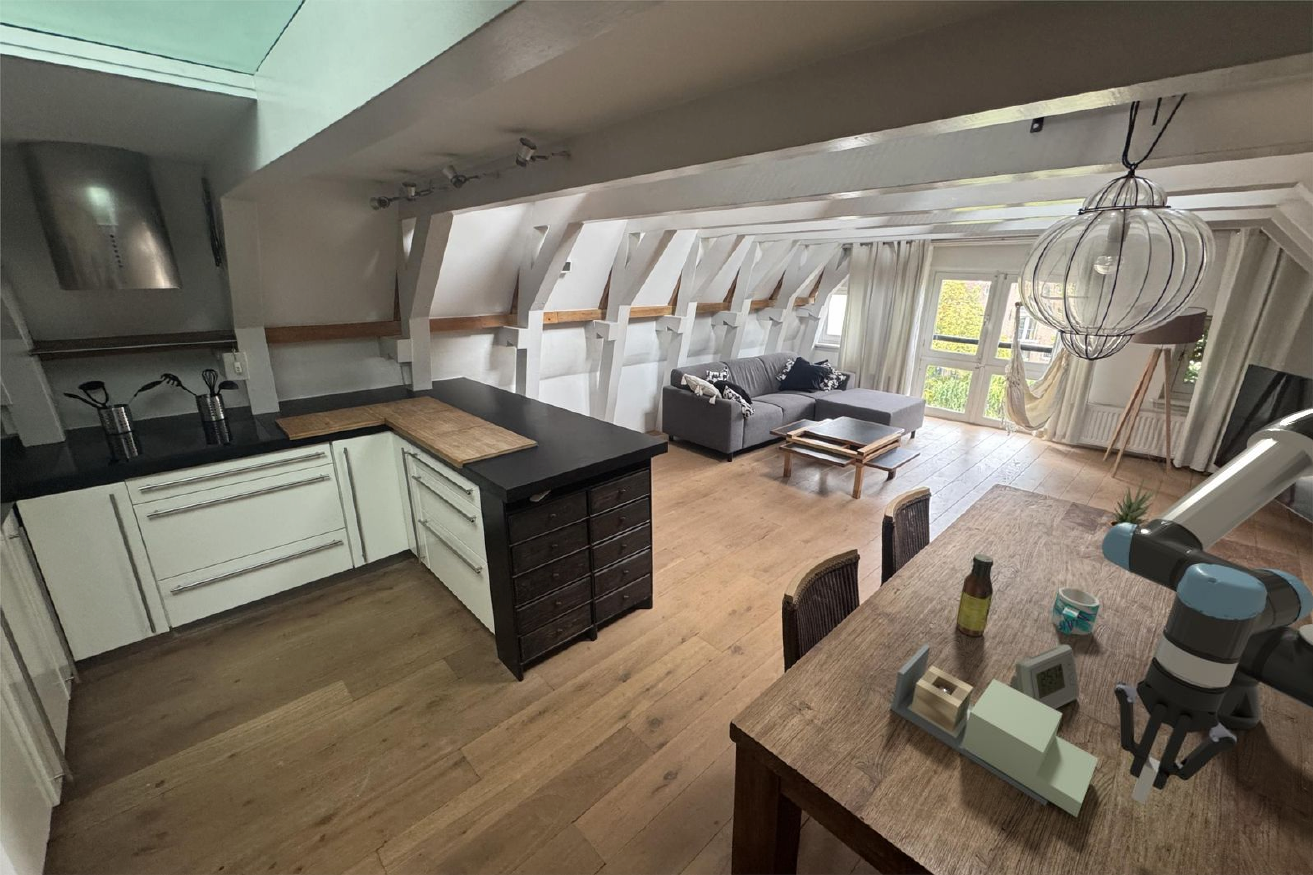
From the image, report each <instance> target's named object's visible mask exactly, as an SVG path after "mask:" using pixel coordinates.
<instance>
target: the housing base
mask: <svg viewBox="0 0 1313 875" xmlns="http://www.w3.org/2000/svg"><path fill="white" fill-rule="evenodd" d="M930 649H931V645H928V644H927V643H925V644H923V645H922V647H921V648H919V650H917V651H916V652H915V654H913V656H912V657H911V658H910V659H909V660H908V661H907V662H906V663H905V664H904V665H903V666H902V667H901V668H900V669H899V670H898V671H897V677H896V683H895V688H894V694H893V699H892V703H891V705H890V710H891V711H893V712H894V713H896V714H898V715H899V716H900V717H903V718H904V719H905V720H907V721H909V722H911V723H912V724H914V725H915V726H917V727H919V728H920V729H921V730H923V731H924V732H926V733H927V734H928V733H929V735H931V736H933V737H935V738H936V739H937V740H939V741H941V742H942V743H944V744H945V745H947V746H948V747H949V748H952V749H953V750H955V751H957V753H960V754H962V756H965V757H966V758H968V759H970V760H971V761H972V762H974V763H976V764H977V765H979V766H981V767H982V768H984V769H986V770H987V771H989V772H990V773H992V774H994V775H996V776H997V778H1000V779H1001V780H1003V781H1004V782H1006V783H1008V784H1010V785H1011V786H1012V787H1014V788H1016V789H1018V790H1019V791H1020V792H1022V793H1024V794H1025V795H1027V796H1028V797H1030V798H1032V799H1033V800H1035V801H1037V802H1038V803H1039V804H1042V805H1043V806H1044V807H1047V806H1048V805H1047V804H1048V802H1049V800H1048V799H1046V798H1044V797H1043V796H1041V795H1040V794H1038V793H1036V792H1035V791H1033V790H1031V789H1030V788H1028V787H1027V786H1025V785H1023V784H1022V783H1020V782H1019V781H1017V780H1015V779H1014V778H1012V777H1010V776H1009V775H1007V774H1006V773H1004V772H1002V771H1001V770H999V769H997V768H996V767H994V766H993V765H991V764H989V763H988V762H986V761H984V760H983V759H981V758H980V757H978V756H976V755H975V754H973V753H972V752H970V751H968V750H967V749H965V748H963V747H962V744H963V740H964V735H965V731H966V727H967V723H968V719H969V715H970V711H971V710H972V708H973V707H974V706H973V705H971V704H970V703H969V707H968V711H967V713H966V714H965V716H964V717H963V718H962V720H961V721H960V723H959V724H958V725H957V727H956V728H955V730H954V731H953V732H950V731H949V730H947V729H945V728H944V727H942V726H940V725H939V724H937V723H935V722H934V721H932V720H931V719H929V718H927V717H926V716H924V715H922V714H921V713H919V712H917V711H916V710H914V709H912V703H913V698H914V692H915V687H916V683H917V682H918V681H919V680H920V679H921V678H922V677H923V676H924V674H925V673H926V669H927V665H928V659H929V654H930Z"/></svg>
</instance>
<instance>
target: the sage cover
mask: <svg viewBox="0 0 1313 875" xmlns="http://www.w3.org/2000/svg"><path fill="white" fill-rule="evenodd" d="M1062 716H1063V713H1062V712H1060V711H1059V710H1057V709H1052V708H1050V707H1049V706H1047V705H1045V704H1043V703H1041V702H1039V701H1037V700H1035V699H1033V698H1031V697H1029V696H1027V695H1025V694H1023V693H1021V692H1019V691H1017V690H1015V689H1013V688H1011V687H1010V685H1007V684H1005V683H1003V682H1001V681H999V680H997V679H995V678H992V680H991V681H990V683H989V684H988V686H986V689H985V690H984V692H983V693H982V694H981V696H980V697H979V699H978V700H977V701H976V702H975V705H974V706H973V708H972V710H971V711H970V715H969V719H968V723H967V727H966V731H965V735H964V740H963V744H962V747H963V748H965V749H967V750H968V751H970V752H972V753H973V754H975V755H976V756H978V757H980V758H981V759H983V760H984V761H986V762H988V763H989V764H991V765H993V766H994V767H996V768H997V769H999V770H1001V771H1002V772H1004V773H1006V774H1007V775H1009V776H1010V777H1012V778H1014V779H1015V780H1017V781H1019V782H1020V783H1022V784H1023V785H1025V786H1027V787H1028V788H1030V789H1031V790H1033V791H1035V792H1036V793H1038V794H1040V795H1041V796H1043V797H1044V798H1046V799H1048V802H1051V803H1053V804H1054V805H1056V806H1057V807H1059V808H1060V809H1063V810H1064V811H1065V812H1067V813H1069V814H1071V815H1072V816H1074V817H1075V818H1078V815H1079V813H1080V810H1081V807H1082V805H1083V803H1084V799H1085V796H1086V794H1087V791H1088V788H1089V786H1090V783H1091V780H1092V777H1093V774H1094V773H1095V769H1096V766H1097V763H1098V760H1099V758H1098V757H1097V756H1094V755H1093V754H1091V753H1089V752H1087V751H1086V750H1083V749H1081V748H1079V747H1077V746H1076V745H1075V744H1072V743H1071V742H1069V741H1067V740H1065V739H1063V738H1061V737H1059V736H1057V733H1058V729H1059V726H1060V723H1061V720H1062Z"/></svg>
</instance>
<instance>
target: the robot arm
mask: <svg viewBox="0 0 1313 875" xmlns="http://www.w3.org/2000/svg"><path fill="white" fill-rule="evenodd" d="M1312 476H1313V406H1312V407H1309V408H1306V409H1301V410H1299V411H1296V412H1293V413H1290V414H1288V415H1285V416H1283V417H1280V418H1278V419H1275V420H1274V421H1271V422H1270V423H1268V424H1266V425H1264V426H1263V427H1262V428H1260V429H1259V430H1257V431H1256V432H1254V433H1253V434H1252V435H1251V436H1250V437H1248V440H1247V442H1246V449H1245V448H1244V450H1243V451H1242V452H1240V453H1239V454H1238V455H1236V456H1235V457H1233V458H1232V459H1231V460H1230V461H1228V462H1227V463H1226V464H1224V465H1223V466H1222V467H1220V468H1219V469H1218V470H1217V471H1215V472H1214V473H1212V474H1211V475H1210V476H1209V477H1207V478H1206V479H1205V480H1203V481H1202V482H1201V483H1199V484H1198V485H1197V486H1195V487H1194V488H1193V489H1191V490H1190V491H1189V492H1188V493H1185V495H1184V496H1182V497H1180V499H1178V500H1177V501H1176V502H1175V503H1173V504H1172V505H1171V506H1169V507H1168V508H1166V510H1163V511H1162V513H1160V514H1159V515H1158V516H1156V517H1155V518H1153V519H1152V520H1150V521H1149V522H1148V523H1146V524H1145V525H1144V526H1140V525H1137V524H1135V525H1134V524H1131V523H1127V522H1123V523H1121V524H1120V523H1119V524H1116V525H1115V526H1113V527H1112V528H1111V529H1109V530H1108V531H1107V532H1106V534H1105V536H1104V537H1103V540H1102V543H1101V550H1102V551H1101V552H1102V555H1103V556H1104V558H1105V559H1106V560H1107V561H1109V562H1110V563H1113V564H1114V565H1116V566H1118V568H1122V569H1124V571H1127V572H1128V573H1130V574H1135V575H1136V576H1139V577H1141V578H1144V579H1146V580H1149V581H1150V582H1152V583H1154V584H1156V585H1157V584H1158V585H1159V586H1162V587H1164V588H1165V589H1169V590H1171V591H1173V592H1174V593H1176V594H1175V596H1174V600H1173V602H1172V606H1171V607H1170V608H1171V609H1170V611H1169V613H1168V617H1167V620H1166V623H1165V625H1164V627H1163V630H1162V632H1161V634H1160V636H1159V640H1158V642H1157V644H1156V647H1155V651H1154V656H1153V657H1152V659H1151V661H1150V663H1149V667H1148V669H1147V673H1146V676H1144V679H1143V680H1141V681H1139V682H1138V683H1137V685H1128V684H1126V683H1125V682H1123V681H1122V682H1121V681H1119V682H1117V683H1116V686H1115V689H1114V695H1115V697H1116V699H1117V702H1118V703H1119V714H1120V716H1119V717H1120V718H1119V721H1120V723H1119V724H1120V725H1119V726H1120V746H1121V748H1122V749H1123V750H1124V751H1126V752H1129V753H1130V754H1132V756H1133V760H1132V763H1131V764H1130V769H1129V774H1130V775H1131V776H1133V777H1135V778H1136V782H1135V785H1134V786H1133V790H1132V794H1131V799H1133V800H1135V801H1136V802H1138V803H1140V804H1141V805H1144V806H1145V804H1146V802H1147V800H1148V797H1149V795H1150V792H1151V790H1152V787H1154V788H1155V789H1158V790H1160V791H1162V790H1163V789H1164V788H1165V785H1166V783H1167V781H1168V778H1170V776H1175V777H1178V778H1179V779H1180V780H1183V781H1188V780H1189V779H1191V778H1192V777H1193V776H1194V775H1196V773H1198V772H1199V771H1200V770H1202V768H1204V767H1205V766H1206V765H1207V764H1209V762H1210V761H1211V760H1212V759H1214V758H1215V757H1216V756H1217V755H1218V754H1220V753H1221V752H1224V751H1227V750H1232V749H1236V747H1237V738H1238V735H1237V733H1236V732H1234V731H1233V730H1230V729H1237V730H1250V729H1254V728H1256V726H1257V725H1258V724H1259V721H1260V719H1261V718H1262V707H1261V706H1262V705H1261V698H1260V690H1259V688H1260V687H1259V685H1260V683H1262V684H1263V685H1265V686H1267V687H1269V688H1270V689H1273V690H1274V691H1277V692H1278V693H1280V694H1282V695H1285V696H1286V697H1288V698H1289V699H1291V700H1294V701H1295V702H1298V703H1300V704H1302V705H1303V706H1305V707H1307V708H1309V709H1310V710H1313V623H1312V624H1311V623H1310V624H1303V625H1302V626H1300V627H1299V629H1298V630H1297V629H1295V628H1292V627H1291V626H1292V625H1293V624H1294V623H1297V622H1298V621H1301V620H1303V619H1305V618H1307V617H1308V616H1309V615H1310V614H1311V613H1312V612H1313V594H1312V592H1311V590H1310V588H1309V587H1308V586H1307V585H1306V584H1305V583H1304V582H1303V581H1302V580H1300V579H1299V578H1297V577H1296V576H1295V575H1292V574H1290V573H1288V572H1286V571H1283V570H1280V569H1279V570H1278V569H1275V568H1272V569H1271V568H1249V567H1247V566H1245V565H1244V566H1243V565H1241V564H1239V563H1236V562H1234V561H1231V560H1228V559H1226V558H1223V557H1221V556H1217V555H1215V554H1213V553H1209V552H1207V550H1208V549H1209V548H1210V547H1212V546H1213V545H1214V544H1216V543H1217V542H1218V541H1220V540H1221V539H1222V538H1224V537H1225V536H1226V535H1228V534H1229V533H1230V532H1231V531H1233V530H1234V529H1236V528H1237V527H1238V526H1239V525H1241V524H1242V523H1244V522H1245V521H1246V520H1248V519H1249V518H1250V517H1252V516H1253V515H1254V514H1255V513H1257V512H1258V511H1259V510H1260V509H1262V508H1263V507H1264V506H1265V505H1268V503H1270V502H1271V501H1273V499H1275V498H1276V497H1277V496H1279V495H1280V494H1281V493H1283V492H1284V491H1286V490H1287V489H1288V488H1289V487H1291V486H1292V485H1293V484H1294V483H1296V482H1298V480H1300V479H1301V478H1308V477H1312ZM1137 696H1138V698H1139V699H1140V701H1141V702H1142V705H1143V707H1144V709H1145V710H1146V712H1147V713H1148V714H1149V718H1148V721H1147V723H1146V726H1145V727H1144V731H1143V733H1142V736H1141V739H1140V740H1139V741H1140V742H1139V743H1138V742H1136V740H1135V726H1134V725H1135V722H1134V721H1135V720H1134V719H1135V716H1134V715H1135V714H1134V703H1135V702H1136V700H1137ZM1162 724H1164V725H1168V726H1170V728H1172V730H1171V733H1170V735H1169V738H1168V740H1167V742H1166V745H1165V747H1164V750H1163V753H1162V756H1161V757H1160V760H1157V759H1155V758H1153V757H1151V756H1149V755H1150V753H1151V750H1152V747H1153V746H1154V743H1155V740H1156V737H1157V736H1158V733H1159V731H1160V728H1161V726H1162ZM1227 728H1230V729H1227ZM1209 729H1210V731H1209V735H1208V736H1207V737H1206V738H1205V739H1204V740H1203V741H1202V742H1201V743H1200V744H1198V746H1196V747H1195V748H1194V749H1193V750H1192V751H1190V752H1189V754H1187V756H1186V757H1184V758H1183V759H1182V760H1181V761H1180V762H1176V761H1177V758H1178V755H1179V753H1180V751H1181V748H1182V745H1183V743H1184V741H1185V739H1186V737H1187V734H1188V733H1190V734H1192V733H1196V732H1200V731H1205V730H1209Z"/></svg>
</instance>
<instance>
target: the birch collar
mask: <svg viewBox="0 0 1313 875" xmlns="http://www.w3.org/2000/svg"><path fill="white" fill-rule="evenodd" d="M941 686H943V687H946V688H948V689H949V690H950V691H951V693H950V695H949V694H947V693H946V692H944V691H942V690H940V689H939V687H941ZM973 690H974V686H971V685H970V684H969V683H966V682H964V681H962V680H961V679H958V678H957V677H955V676H954V675H951V674H949V673H947V672H945V671H943V670H942V669H940V668H938V667H936V666H934V665H931V667H930V668H929V669H928V670H927V671H925V674H924V676H923V677H922V678H921V679H920V680H919V681H918V682H917V683H916V687H915V692H914V698H913V703H912V709H914V710H916V711H917V712H919V713H921V714H922V715H924V716H926V717H927V718H929V719H931V720H932V721H934V722H935V723H937V724H939V725H940V726H942V727H944V728H945V729H947V730H949V731H950V732H953V731H954V730H955V728H956V727H957V725H958V724H959V723H960V721H961V720H962V718H963V717H964V716H965V714H966V713H967V711H968V707H969V704H970V701H971V698H972V693H973Z"/></svg>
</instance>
